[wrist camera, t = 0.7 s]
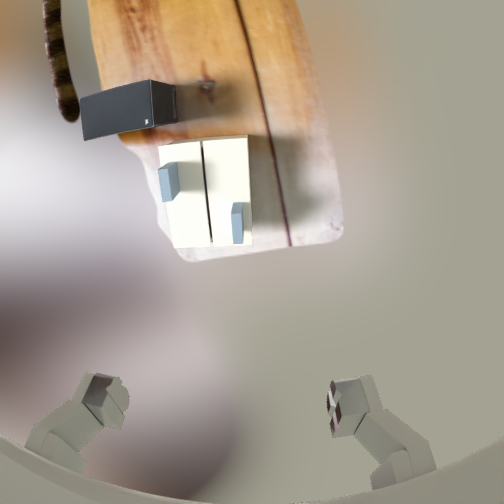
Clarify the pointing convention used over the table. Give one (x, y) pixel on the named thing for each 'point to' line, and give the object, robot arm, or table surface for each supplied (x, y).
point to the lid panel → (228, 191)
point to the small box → (128, 109)
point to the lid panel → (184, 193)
